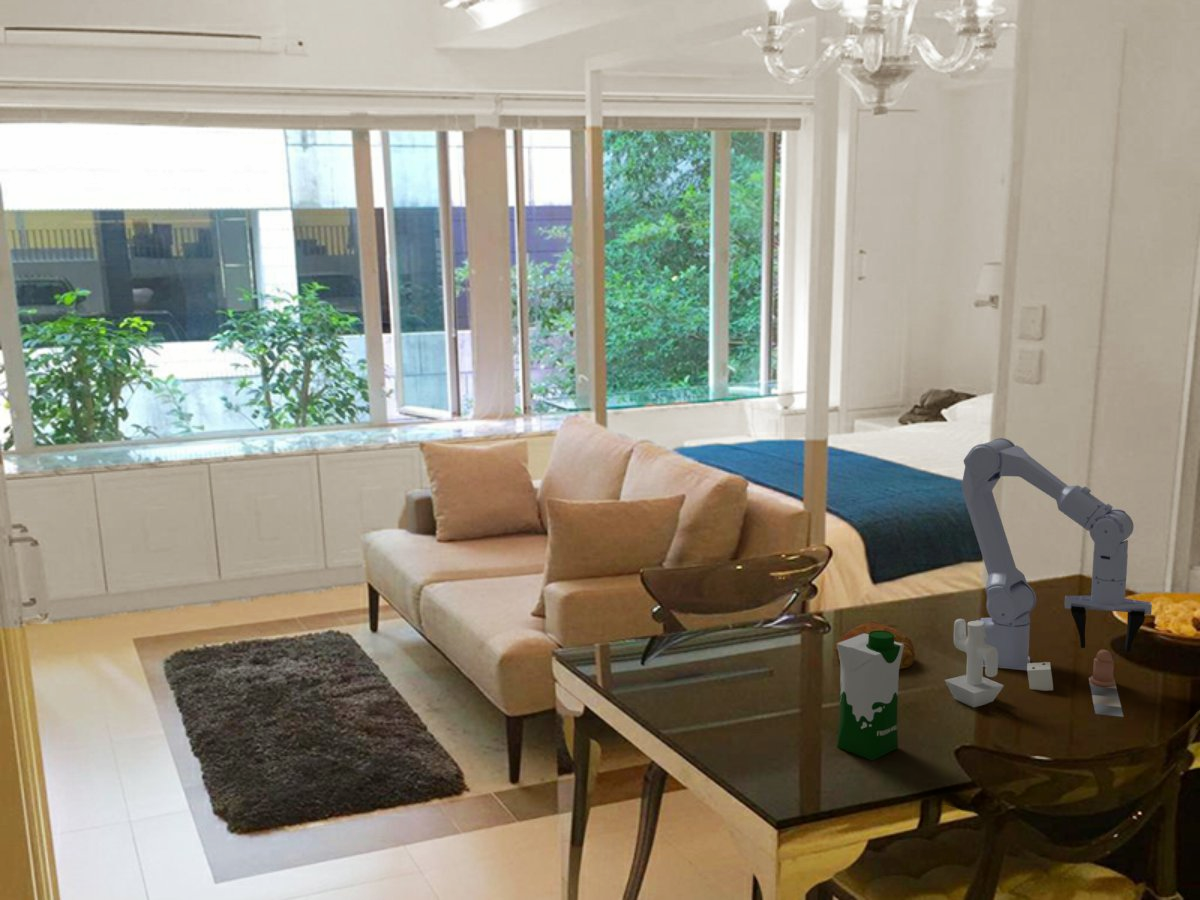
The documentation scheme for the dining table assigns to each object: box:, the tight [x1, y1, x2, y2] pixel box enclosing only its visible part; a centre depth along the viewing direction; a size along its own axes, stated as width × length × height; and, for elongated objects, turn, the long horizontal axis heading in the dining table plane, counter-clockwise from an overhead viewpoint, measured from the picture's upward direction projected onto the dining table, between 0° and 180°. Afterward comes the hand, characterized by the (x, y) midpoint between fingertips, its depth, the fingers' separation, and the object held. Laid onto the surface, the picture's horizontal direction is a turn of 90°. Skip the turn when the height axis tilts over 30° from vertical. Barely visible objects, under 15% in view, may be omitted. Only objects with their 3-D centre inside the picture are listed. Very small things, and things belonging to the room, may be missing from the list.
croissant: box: [833, 621, 916, 670], centre depth 232 cm, size 15×16×8 cm
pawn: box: [1089, 649, 1116, 687], centre depth 217 cm, size 4×4×6 cm
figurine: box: [944, 618, 1005, 708], centre depth 210 cm, size 7×9×15 cm
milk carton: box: [836, 630, 904, 761], centre depth 191 cm, size 9×9×20 cm
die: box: [1026, 661, 1054, 692], centre depth 216 cm, size 4×4×4 cm
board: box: [1088, 677, 1124, 718], centre depth 213 cm, size 14×19×1 cm
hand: (1105, 648), depth 216 cm, fingers open, 7 cm apart
